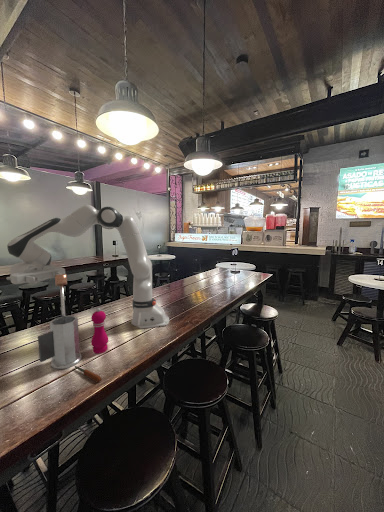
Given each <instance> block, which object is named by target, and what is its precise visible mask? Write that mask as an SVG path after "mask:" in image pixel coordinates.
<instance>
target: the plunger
mask: <svg viewBox="0 0 384 512" xmlns="http://www.w3.org/2000/svg"><path fill="white" fill-rule="evenodd" d="M54 280H55V286H56V287H59V290H60V291H59V292H60V293H59V294H60V308H61V317H62V324H66V318H65V316H66V305H65V293H64V292H65V291H64V286H67V285H68V275H67V273H65V274H57V275H55V278H54Z"/></svg>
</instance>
